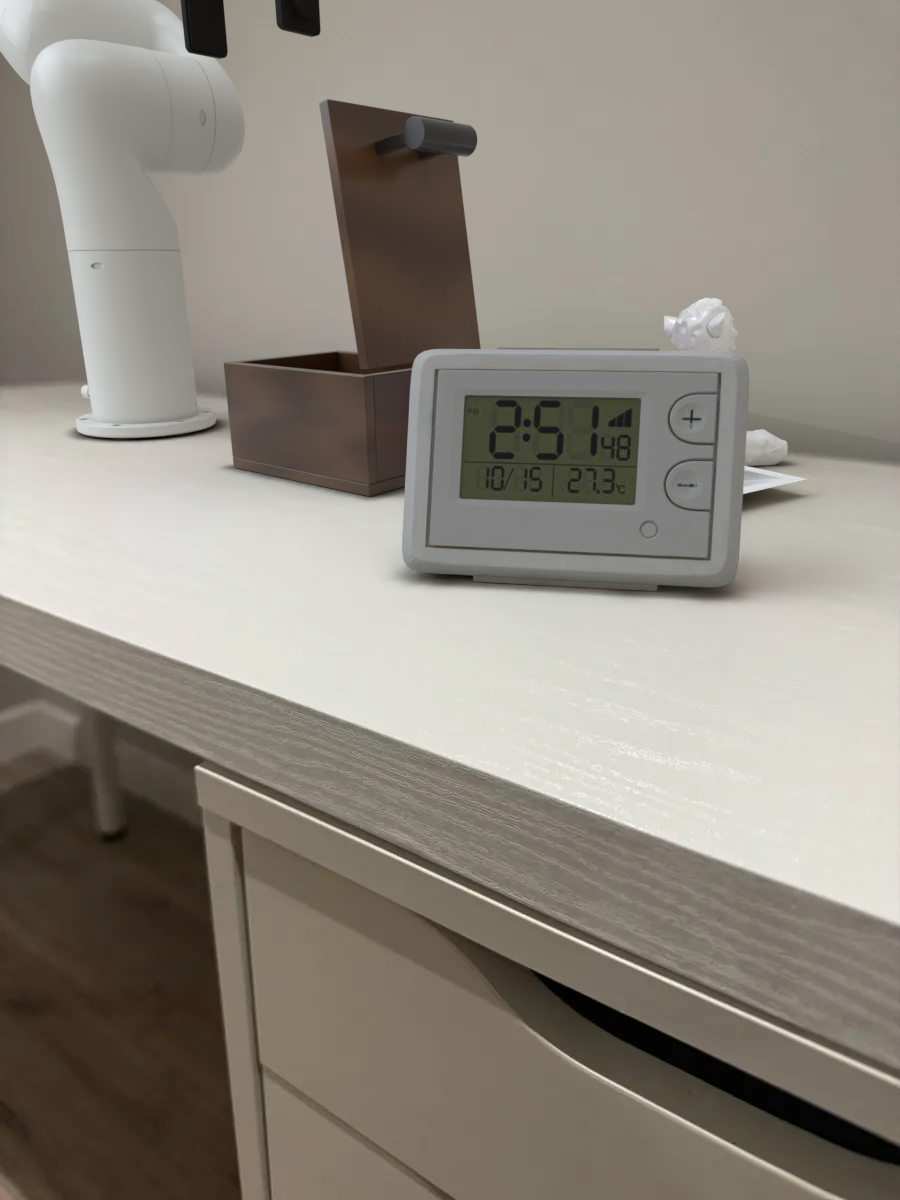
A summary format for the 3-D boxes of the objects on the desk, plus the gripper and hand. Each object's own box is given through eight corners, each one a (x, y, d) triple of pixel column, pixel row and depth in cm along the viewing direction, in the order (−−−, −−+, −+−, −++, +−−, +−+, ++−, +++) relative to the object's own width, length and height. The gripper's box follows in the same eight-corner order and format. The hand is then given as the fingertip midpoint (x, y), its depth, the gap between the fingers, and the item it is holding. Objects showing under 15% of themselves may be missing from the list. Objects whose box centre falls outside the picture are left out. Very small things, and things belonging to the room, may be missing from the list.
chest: (233, 467, 67) (223, 362, 65) (343, 444, 76) (338, 350, 73) (369, 496, 59) (364, 376, 56) (477, 466, 67) (477, 360, 64)
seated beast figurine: (790, 463, 67) (812, 297, 63) (719, 480, 62) (738, 301, 58) (690, 445, 74) (704, 294, 70) (619, 458, 69) (629, 297, 65)
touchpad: (554, 505, 56) (555, 471, 55) (710, 473, 64) (713, 444, 63) (645, 534, 50) (647, 497, 49) (805, 495, 58) (810, 462, 57)
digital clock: (384, 578, 43) (376, 355, 39) (451, 529, 51) (450, 339, 47) (727, 622, 38) (756, 367, 34) (743, 560, 46) (768, 347, 42)
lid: (318, 102, 52) (379, 75, 49) (445, 123, 60) (504, 101, 57) (359, 369, 56) (418, 361, 53) (473, 355, 64) (530, 347, 61)
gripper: (372, -314, 50) (382, 34, 57) (193, -214, 61) (218, 70, 67) (269, -381, 45) (293, 10, 51) (92, -259, 55) (130, 54, 62)
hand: (251, 44), depth 59 cm, fingers open, 9 cm apart
